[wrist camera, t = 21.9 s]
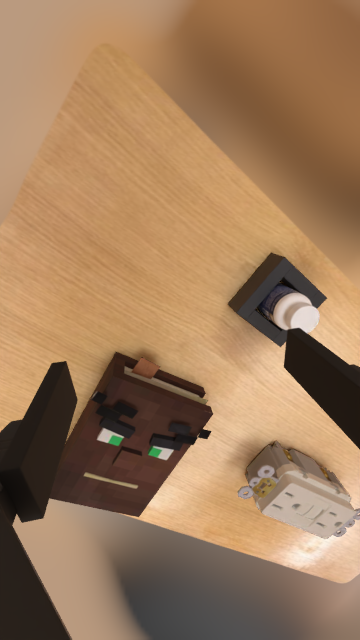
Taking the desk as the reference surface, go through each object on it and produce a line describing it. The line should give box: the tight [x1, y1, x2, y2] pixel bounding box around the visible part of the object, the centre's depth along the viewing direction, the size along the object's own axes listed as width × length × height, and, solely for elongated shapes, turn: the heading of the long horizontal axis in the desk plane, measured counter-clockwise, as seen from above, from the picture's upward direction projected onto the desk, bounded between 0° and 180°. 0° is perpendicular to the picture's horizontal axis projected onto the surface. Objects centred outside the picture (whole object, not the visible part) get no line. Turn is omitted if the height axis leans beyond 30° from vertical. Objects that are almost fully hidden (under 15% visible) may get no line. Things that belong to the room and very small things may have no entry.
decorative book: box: [49, 352, 213, 517], centre depth 45 cm, size 19×8×30 cm
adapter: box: [228, 253, 327, 347], centre depth 41 cm, size 10×10×4 cm
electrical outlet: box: [238, 441, 360, 539], centre depth 55 cm, size 12×28×10 cm, turn 56°
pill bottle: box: [257, 283, 319, 333], centre depth 38 cm, size 5×5×10 cm
